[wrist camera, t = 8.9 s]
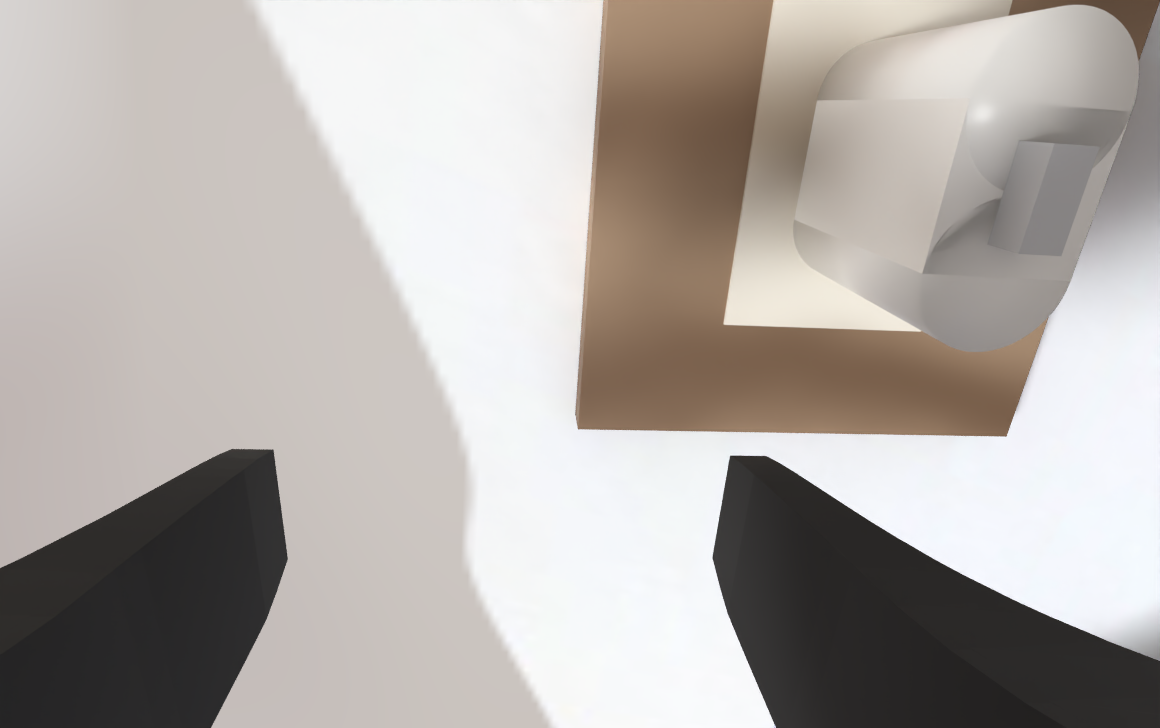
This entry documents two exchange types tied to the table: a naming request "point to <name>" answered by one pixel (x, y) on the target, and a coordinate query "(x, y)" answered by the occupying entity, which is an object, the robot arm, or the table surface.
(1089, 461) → the table surface
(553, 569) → the table surface
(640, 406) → the walnut board
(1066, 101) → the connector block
